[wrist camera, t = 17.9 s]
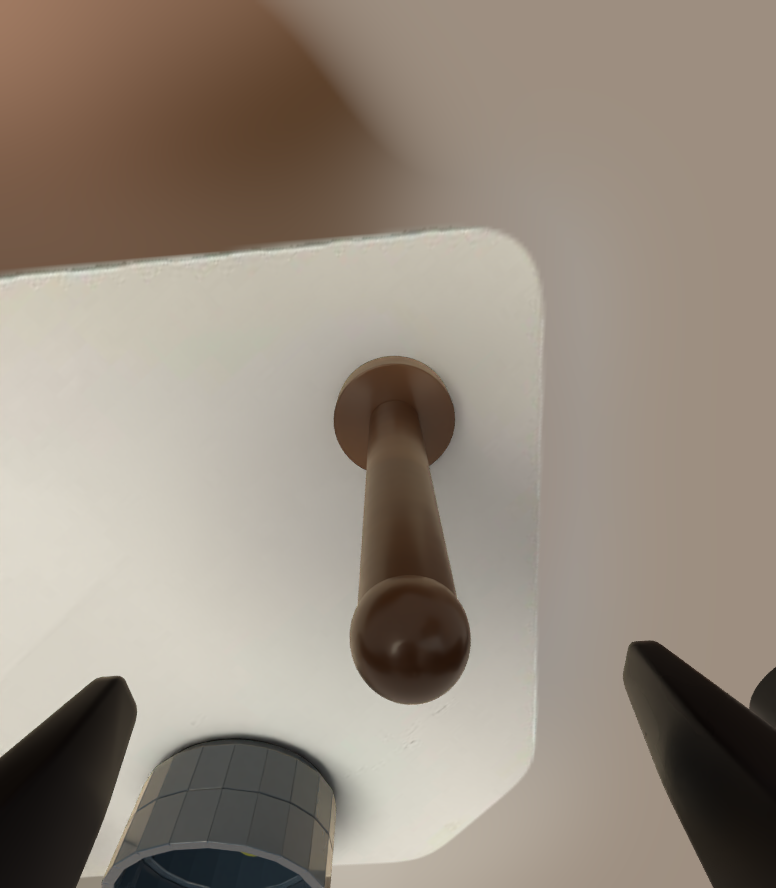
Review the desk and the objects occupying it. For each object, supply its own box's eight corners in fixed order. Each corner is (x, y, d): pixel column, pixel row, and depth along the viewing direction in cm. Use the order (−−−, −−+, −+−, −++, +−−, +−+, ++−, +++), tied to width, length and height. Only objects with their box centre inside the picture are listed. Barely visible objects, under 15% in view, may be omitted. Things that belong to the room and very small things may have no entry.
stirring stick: (442, 466, 18) (530, 785, 8) (334, 459, 18) (266, 776, 7) (458, 360, 17) (601, 579, 6) (338, 351, 16) (255, 560, 6)
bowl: (346, 837, 29) (340, 947, 25) (177, 847, 30) (140, 958, 25) (323, 726, 25) (310, 835, 20) (124, 739, 25) (67, 849, 20)
